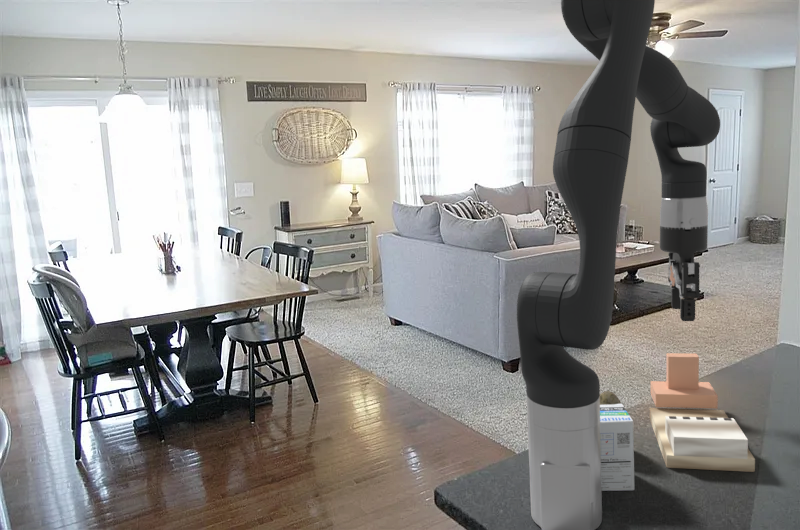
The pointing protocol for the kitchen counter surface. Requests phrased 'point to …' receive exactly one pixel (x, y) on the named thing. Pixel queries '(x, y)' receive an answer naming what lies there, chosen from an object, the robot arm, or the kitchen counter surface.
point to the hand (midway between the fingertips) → (682, 314)
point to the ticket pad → (694, 461)
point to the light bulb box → (616, 448)
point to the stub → (683, 384)
